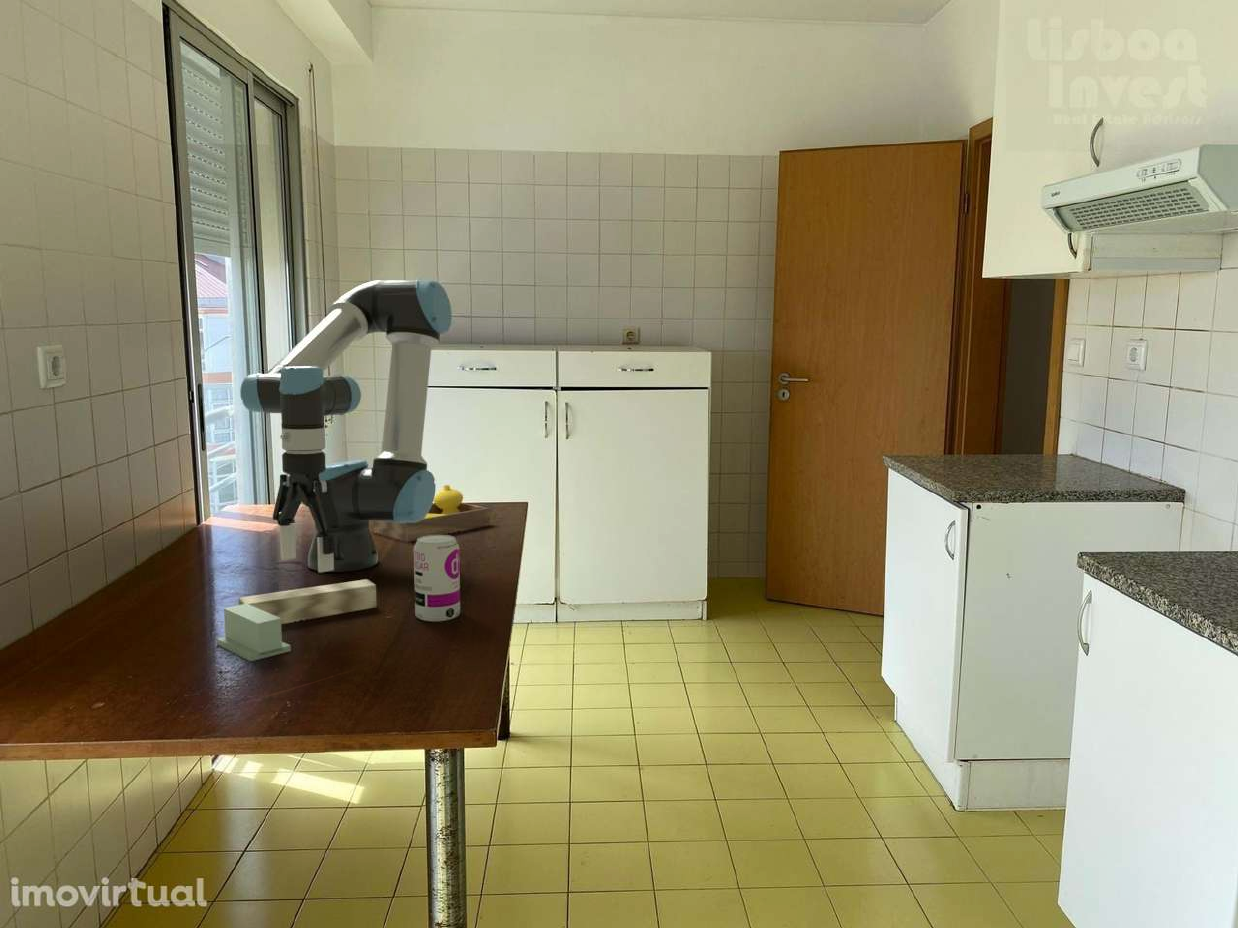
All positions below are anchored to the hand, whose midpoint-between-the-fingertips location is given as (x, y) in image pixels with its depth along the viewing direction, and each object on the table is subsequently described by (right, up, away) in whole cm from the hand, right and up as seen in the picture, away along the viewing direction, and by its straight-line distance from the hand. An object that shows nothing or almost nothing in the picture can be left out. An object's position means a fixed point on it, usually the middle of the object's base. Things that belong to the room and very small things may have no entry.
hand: (306, 565), depth 178 cm
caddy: (+9, +1, +74) cm, 74 cm away
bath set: (+9, +1, +78) cm, 78 cm away
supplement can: (+24, -10, +1) cm, 26 cm away
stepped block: (-4, -12, -17) cm, 21 cm away
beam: (0, -10, +2) cm, 10 cm away
